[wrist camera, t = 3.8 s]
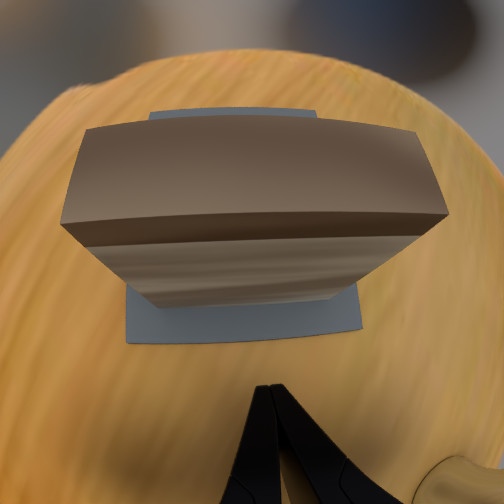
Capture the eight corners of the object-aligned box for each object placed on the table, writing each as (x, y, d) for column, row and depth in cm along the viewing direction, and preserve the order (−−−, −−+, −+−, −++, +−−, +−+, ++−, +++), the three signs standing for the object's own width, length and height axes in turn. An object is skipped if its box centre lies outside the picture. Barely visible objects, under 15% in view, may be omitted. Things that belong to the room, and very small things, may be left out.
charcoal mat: (359, 329, 17) (362, 328, 16) (128, 343, 16) (125, 342, 15) (313, 114, 23) (315, 110, 23) (151, 116, 22) (150, 112, 21)
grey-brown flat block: (329, 299, 17) (449, 214, 7) (158, 308, 16) (59, 224, 6) (322, 252, 18) (415, 132, 8) (159, 258, 17) (86, 129, 7)
